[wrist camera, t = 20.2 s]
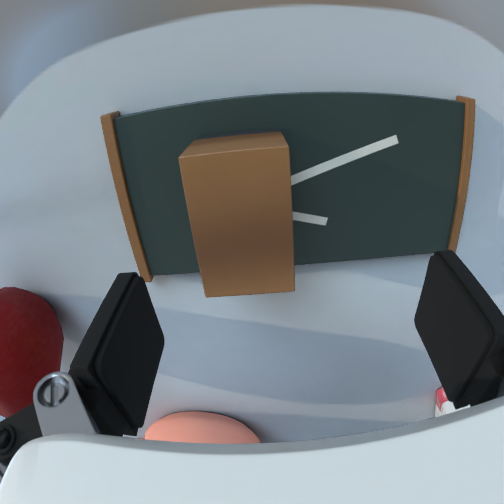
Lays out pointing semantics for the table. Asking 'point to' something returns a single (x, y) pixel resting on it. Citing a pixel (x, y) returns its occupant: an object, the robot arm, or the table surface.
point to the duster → (241, 211)
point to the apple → (26, 347)
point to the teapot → (200, 429)
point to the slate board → (306, 172)
